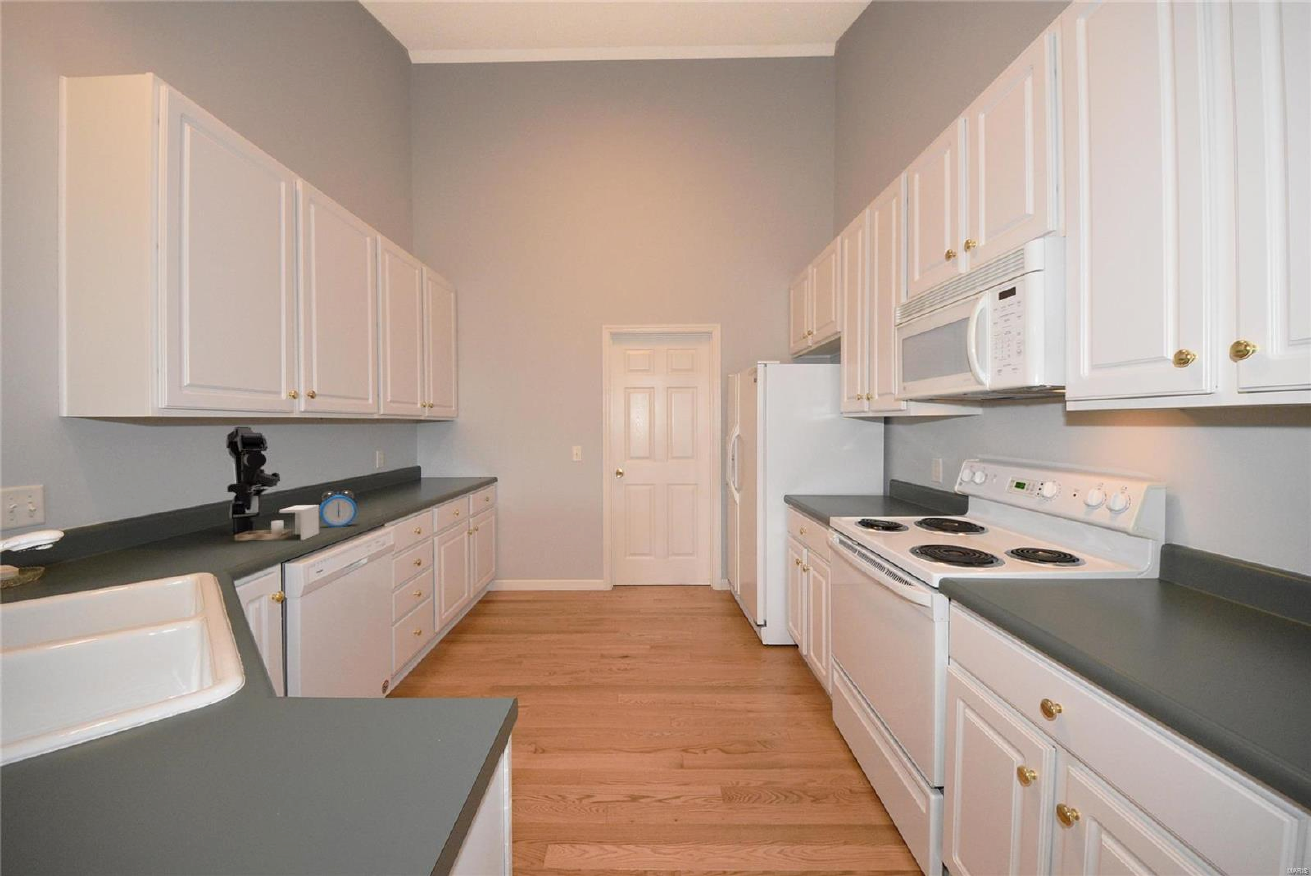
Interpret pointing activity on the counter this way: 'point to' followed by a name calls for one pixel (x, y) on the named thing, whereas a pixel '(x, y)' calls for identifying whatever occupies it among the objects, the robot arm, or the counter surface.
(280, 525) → the white rounded cylinder
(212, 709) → the counter surface
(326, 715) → the counter surface
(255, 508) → the grey rounded cylinder
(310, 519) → the white l-shaped bracket
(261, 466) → the robot arm
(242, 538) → the tray
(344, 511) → the alarm clock
